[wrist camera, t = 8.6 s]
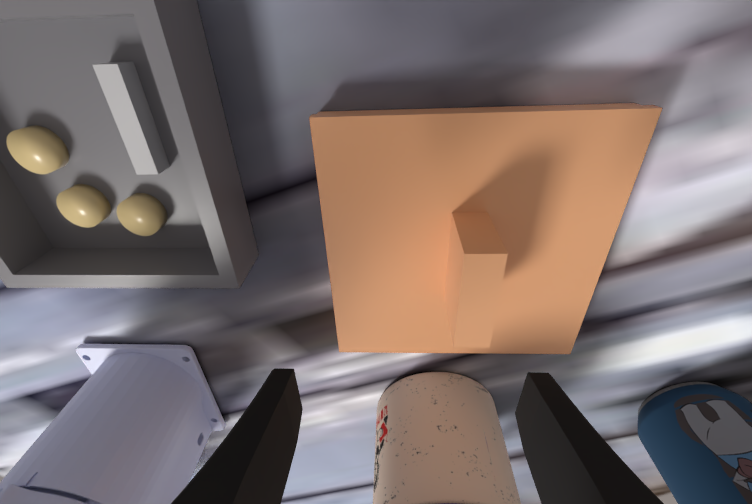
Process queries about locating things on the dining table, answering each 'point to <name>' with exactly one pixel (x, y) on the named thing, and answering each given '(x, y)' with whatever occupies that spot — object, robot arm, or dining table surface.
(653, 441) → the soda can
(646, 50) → the dining table surface
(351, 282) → the lid
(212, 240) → the parts tub
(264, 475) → the robot arm
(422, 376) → the teacup with lid
